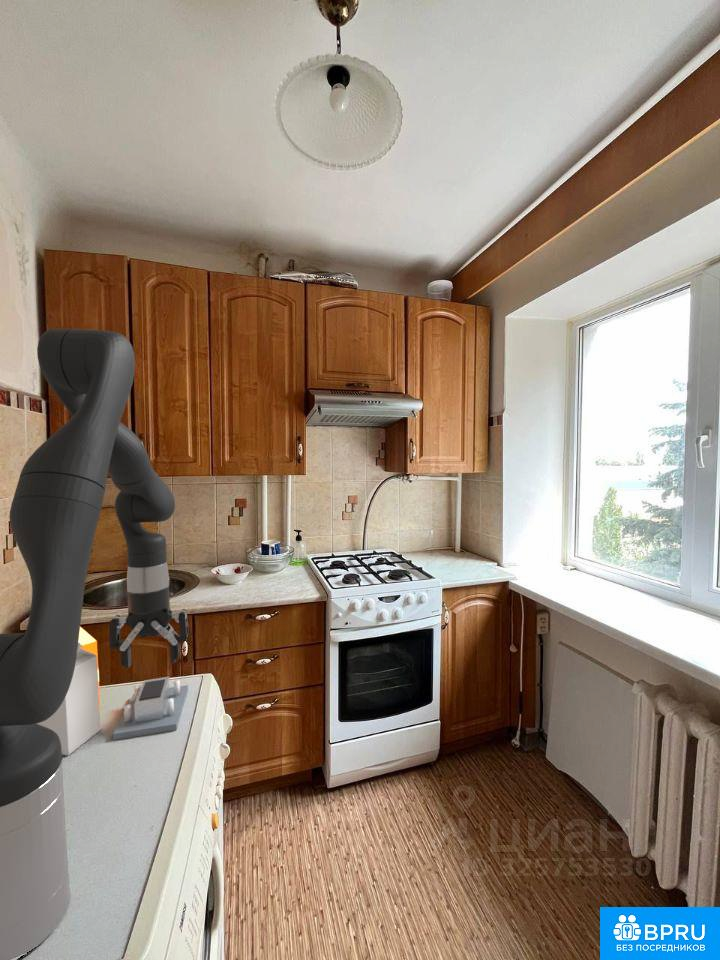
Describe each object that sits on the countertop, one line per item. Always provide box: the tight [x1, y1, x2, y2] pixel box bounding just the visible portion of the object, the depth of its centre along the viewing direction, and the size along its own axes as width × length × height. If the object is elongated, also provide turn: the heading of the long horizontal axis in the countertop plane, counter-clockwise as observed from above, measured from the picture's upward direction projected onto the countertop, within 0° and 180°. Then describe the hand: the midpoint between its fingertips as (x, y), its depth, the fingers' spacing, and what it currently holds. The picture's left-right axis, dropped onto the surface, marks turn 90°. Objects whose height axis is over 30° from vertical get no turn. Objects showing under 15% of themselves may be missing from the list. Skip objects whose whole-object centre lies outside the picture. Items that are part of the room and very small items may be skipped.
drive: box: [134, 676, 171, 723], centre depth 85 cm, size 9×5×4 cm, turn 17°
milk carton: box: [36, 642, 101, 756], centre depth 77 cm, size 7×7×19 cm
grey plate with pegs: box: [112, 679, 189, 741], centre depth 85 cm, size 14×11×4 cm
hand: (151, 664), depth 85 cm, fingers open, 8 cm apart
